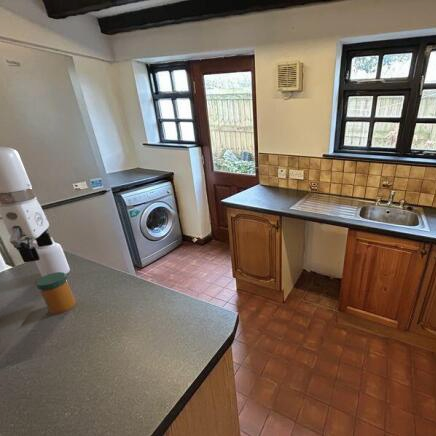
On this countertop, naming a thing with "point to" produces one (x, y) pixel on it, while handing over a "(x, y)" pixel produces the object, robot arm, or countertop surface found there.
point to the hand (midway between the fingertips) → (39, 252)
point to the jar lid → (51, 281)
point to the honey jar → (59, 298)
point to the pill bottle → (51, 259)
